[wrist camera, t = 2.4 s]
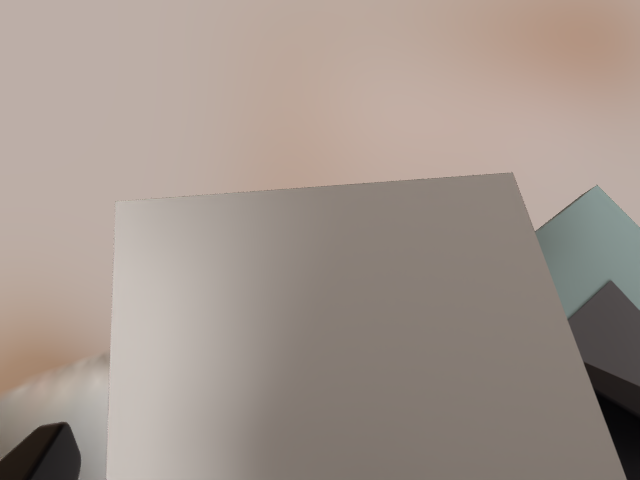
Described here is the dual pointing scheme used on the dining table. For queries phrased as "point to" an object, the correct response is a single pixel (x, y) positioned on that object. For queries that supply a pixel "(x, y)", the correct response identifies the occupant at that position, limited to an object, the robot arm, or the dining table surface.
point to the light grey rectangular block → (345, 339)
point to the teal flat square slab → (598, 280)
